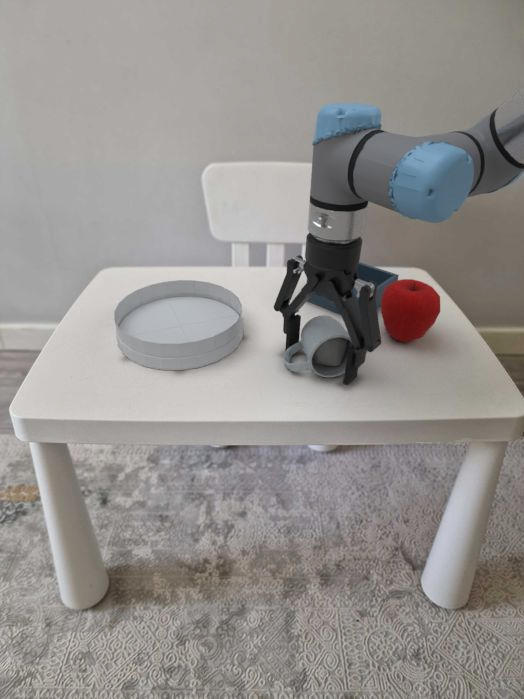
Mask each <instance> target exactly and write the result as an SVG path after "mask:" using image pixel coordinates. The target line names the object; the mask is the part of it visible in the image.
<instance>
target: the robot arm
mask: <svg viewBox="0 0 524 699" xmlns="http://www.w3.org/2000/svg"><path fill="white" fill-rule="evenodd" d="M382 126H383V125H382V111H381V109H380V108H379V107H377V106H374V105H372V104H366V103H358V102H334V103H333V102H332V103H327V104H325V105H323V106H322V107H321V108H319V110H318V112H317V115H316V123H315V129H314V135H313V141H312V146H313V148H312V163H311V175H310V176H311V177H310V189H309V190H310V192H309V202H308V203H309V205H308V215H307V231H308V232H309V233H307V234H306V237H305V238H306V239H305V250H304V258H305V259H304V258H303V256H302V255H301V254H298V255H296V256H294V257H292V258H289V259H288V260H286V261H287V262H286V274H285V275H284V276H285V277H284V278H283V281H282V284H281V286H280V289H279V291H278V293H277V297H276V299H275V302H274V304H273V309H274V311H276V313H277V312H279V313H280V314H281V316H282V318H283V326H282V332H283V334H285V349H284V350H285V351H284V353H285V352H286V350H287V349H288V348H289V347H291V346H292V345H294V344H296V343H298V342H300V336H301V333H300V332H301V320H302V315H300V314H297V313H299V312H300V310H301V309H302V308H303V306H304V305H305V304H306V303H307V302H308V301H307V300H308V299H309V298H310V297H311V296H312V295H313V294H314V293H315V295H318V296H324V297H325V298H327V299H328V300H331V301H334V304H335V306H336V308H337V309H339V310H340V313H341V315H340V316H341V318H342V320H343V323H344V325H345V327H346V331H347V332H348V334H349V336H350V338H351V341H352V343H353V345H352V346H351V347H350V348H349V350H348V356H347V362H346V369H345V373H344V374H343V382H342V383H343V384H345V385H347V386H348V385H349V384H351V383H352V381H353V380H355V379H356V378H357V377H358V371H359V368H361V367H362V365H364V363H365V362H366V356H367V352H368V353H372V352H374V351H375V350H376V349H377V348H378V347H380V346H381V345H382V336H381V329H380V321H379V313H378V309H377V307H376V299H375V295H376V290H377V283H376V282H375V281H370V282H369V283H368V282H366V281H363V280H360V279H359V278H358V275H357V267H358V264H359V262H360V260H361V253H362V247H363V238H362V236H363V235H364V234H365V227H366V221H367V213H368V205H369V203H372V204H373V205H377V206H379V207H383V208H385V209H388V210H391V211H393V212H396V213H398V214H399V215H401V216H403V217H407V218H409V219H410V220H419V221H423V222H427V223H430V224H437V223H442V222H445V221H447V220H448V219H450V218H452V215H453V213H454V212H457V211H459V210H460V209H461V208H462V206H463V205H464V203H465V202H466V199H467V198H471V197H475V196H480V195H486V194H492V193H495V192H497V191H499V190H501V189H503V188H506V187H508V186H510V185H512V184H513V183H515V182H516V181H518V179H520V178H521V176H523V174H524V87H522V88H521V89H520V90H518V91H517V92H515V93H514V94H513V95H511V96H510V97H509V98H507V99H506V101H504V102H502V103H501V104H500V105H499V106H498V107H497V108H495V109H493V111H492V112H490V113H488V114H487V115H486V116H484V117H483V118H482V119H481V120H479V121H478V122H477V123H475V124H474V125H472V126H471V127H469V128H467V129H462V130H457V131H451V132H444V133H437V134H430V135H423V136H411V135H410V136H409V135H403V134H398V133H393V132H390V131H389V132H388V131H385V130H383V129H382ZM303 272H304V274H305V276H306V280H307V279H308V282H307V281H306V283H305V284H304V285H303V287H302V288H301V289H300V292H298V294H297V295H296V296H295V297H294V298H293V295H294V293H295V291H296V288H297V285H298V283H299V281H300V279H301V276H302V273H303ZM353 288H355V289H356V290H357V294H356V296H357V297H359V309H360V314H359V311H358V309H357V306H356V304H355V295H354V292H353V290H352V289H353ZM344 296H345V299H342V297H344ZM292 298H293V300H292ZM291 300H292V301H291ZM360 315H361V317H360Z"/></svg>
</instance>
